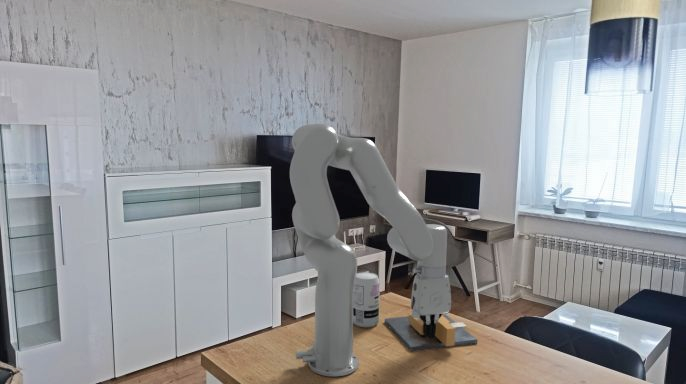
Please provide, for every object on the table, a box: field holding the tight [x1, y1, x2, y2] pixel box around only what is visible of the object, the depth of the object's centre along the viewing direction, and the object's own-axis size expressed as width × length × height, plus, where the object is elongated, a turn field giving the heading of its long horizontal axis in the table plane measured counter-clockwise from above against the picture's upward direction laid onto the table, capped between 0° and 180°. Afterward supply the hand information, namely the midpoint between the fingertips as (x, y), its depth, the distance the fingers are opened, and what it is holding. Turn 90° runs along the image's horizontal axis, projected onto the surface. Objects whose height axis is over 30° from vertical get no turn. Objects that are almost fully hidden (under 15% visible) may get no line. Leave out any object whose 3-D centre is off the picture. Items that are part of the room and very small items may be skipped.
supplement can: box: [353, 271, 381, 329], centre depth 142 cm, size 8×8×15 cm
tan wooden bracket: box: [408, 312, 455, 347], centre depth 132 cm, size 9×18×5 cm, turn 16°
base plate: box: [384, 314, 478, 352], centre depth 136 cm, size 22×20×9 cm
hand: (429, 336), depth 126 cm, fingers closed
